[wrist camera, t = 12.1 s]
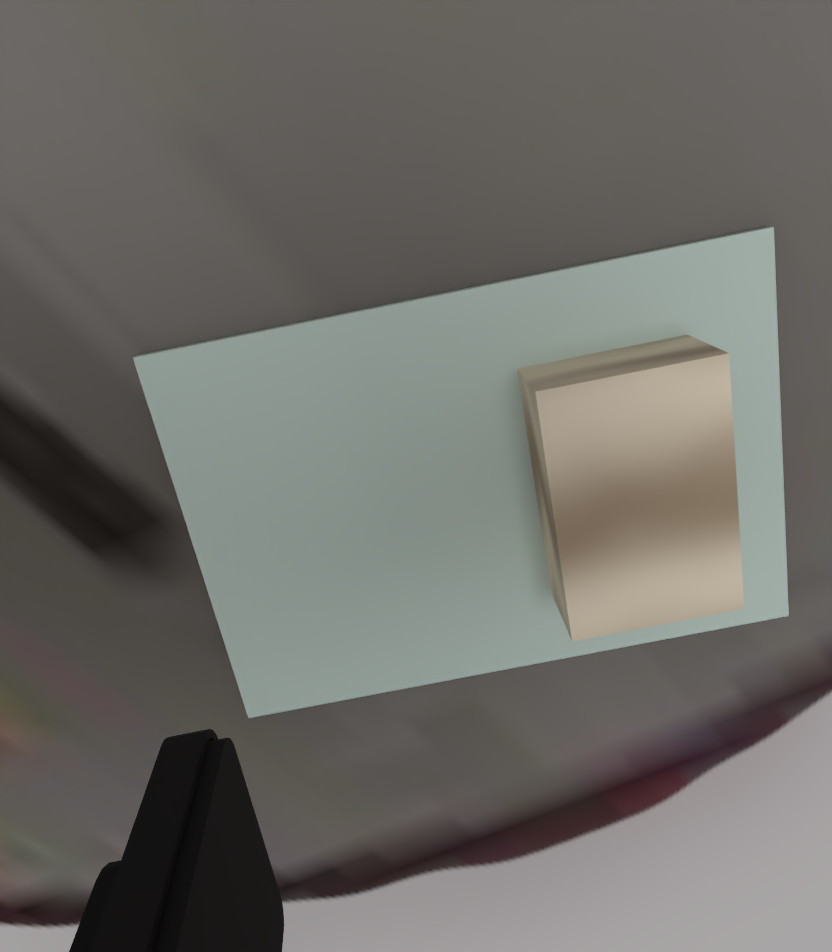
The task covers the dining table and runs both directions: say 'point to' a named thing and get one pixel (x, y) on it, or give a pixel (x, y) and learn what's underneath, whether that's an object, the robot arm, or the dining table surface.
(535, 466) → the card box
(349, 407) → the mat
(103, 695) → the dining table surface
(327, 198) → the dining table surface
